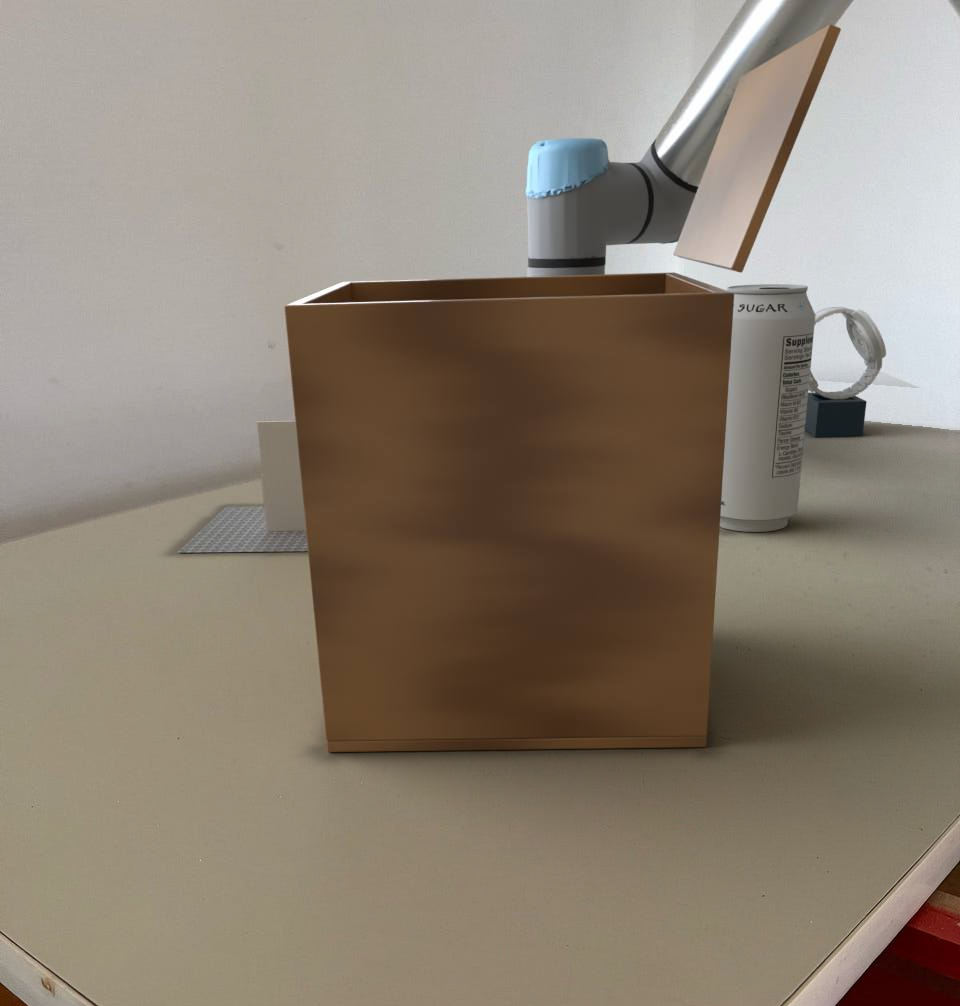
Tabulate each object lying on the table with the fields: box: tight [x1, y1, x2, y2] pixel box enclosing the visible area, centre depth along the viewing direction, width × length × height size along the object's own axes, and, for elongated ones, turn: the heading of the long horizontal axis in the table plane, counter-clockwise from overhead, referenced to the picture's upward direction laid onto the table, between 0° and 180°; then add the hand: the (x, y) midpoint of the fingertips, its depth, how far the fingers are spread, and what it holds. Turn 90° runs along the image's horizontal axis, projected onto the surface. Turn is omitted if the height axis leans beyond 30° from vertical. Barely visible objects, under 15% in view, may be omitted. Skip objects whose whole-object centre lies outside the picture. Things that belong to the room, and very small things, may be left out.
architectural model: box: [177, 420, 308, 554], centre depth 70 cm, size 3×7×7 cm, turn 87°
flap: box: [672, 24, 842, 273], centre depth 38 cm, size 7×13×1 cm
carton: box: [283, 272, 734, 753], centre depth 43 cm, size 15×13×17 cm
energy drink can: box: [720, 283, 816, 533], centre depth 66 cm, size 6×6×15 cm
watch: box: [805, 306, 887, 438], centre depth 94 cm, size 6×8×11 cm
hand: (699, 352), depth 74 cm, fingers open, 13 cm apart
